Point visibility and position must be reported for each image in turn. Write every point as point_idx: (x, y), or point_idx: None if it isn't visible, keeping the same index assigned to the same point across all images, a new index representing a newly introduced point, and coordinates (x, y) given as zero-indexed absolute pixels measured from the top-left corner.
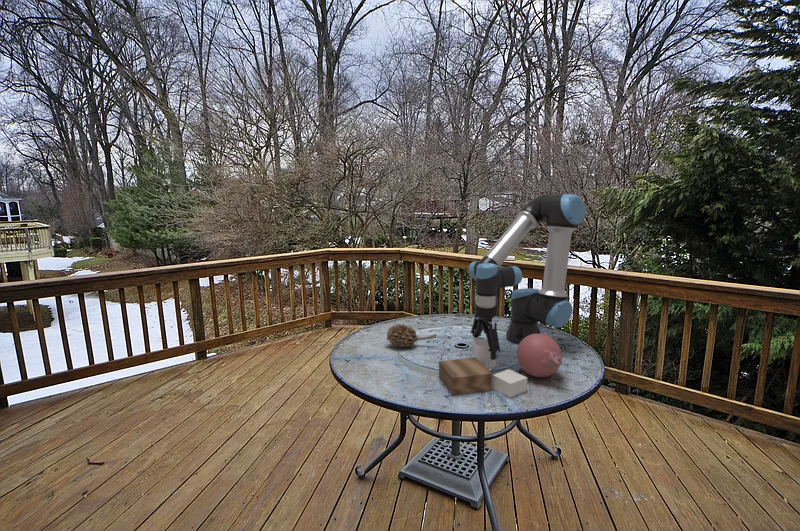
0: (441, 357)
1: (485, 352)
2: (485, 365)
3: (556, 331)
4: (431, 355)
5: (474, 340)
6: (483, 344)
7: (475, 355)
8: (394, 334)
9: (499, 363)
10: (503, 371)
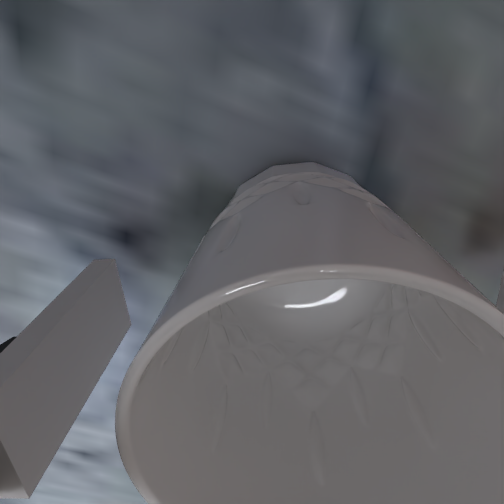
0: (69, 450)
1: (466, 409)
2: (390, 288)
3: None
4: (38, 487)
5: (52, 453)
6: (163, 346)
7: (309, 406)
8: None
9: (222, 45)
10: None
